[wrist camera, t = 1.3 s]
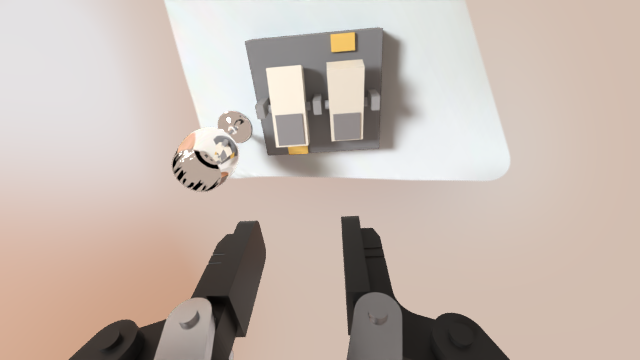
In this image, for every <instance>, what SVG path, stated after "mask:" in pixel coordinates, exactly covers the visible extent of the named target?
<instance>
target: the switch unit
mask: <svg viewBox="0 0 640 360" xmlns="http://www.w3.org/2000/svg"><path fill="white" fill-rule="evenodd" d="M382 36H383V28H367V29H356V30H346V31H335V32H325V33H314V34H304V35H293V36H283V37H272V38H262V39H252V40H248V41H245V45H246V50H247V55H248V60H249V65H250V69H251V74H252V79H253V84H254V89H255V94H256V99H257V104H256V105H255V109H256V113H257V118H258V119H261V124H262V128H263V133H264V138H265V143H266V148H267V153H268V155H284V154H289V155H293V154H308V153H314V152H330V151H345V150H360V149H376V148H379V131H380V99H381V68H382ZM359 59H362V60H363V63H364V66H365V72H364V97H367V106H364V112H363V139H359V140H344V141H332V139H331V125H330V110H329V109H325V100H329V96H328V82H327V63H326V62H336V61H347V60H359ZM295 65H302V66H303V71H304V82H305V93H306V102H310V111H307V115H308V127H309V138H310V143H309V145H307V146H292V147H277V148H276V141H275V134H274V126H273V118H272V113H269V111H268V105H271V103H270V96H269V88H268V80H267V73H266V68H272V67H283V66H295Z"/></svg>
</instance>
